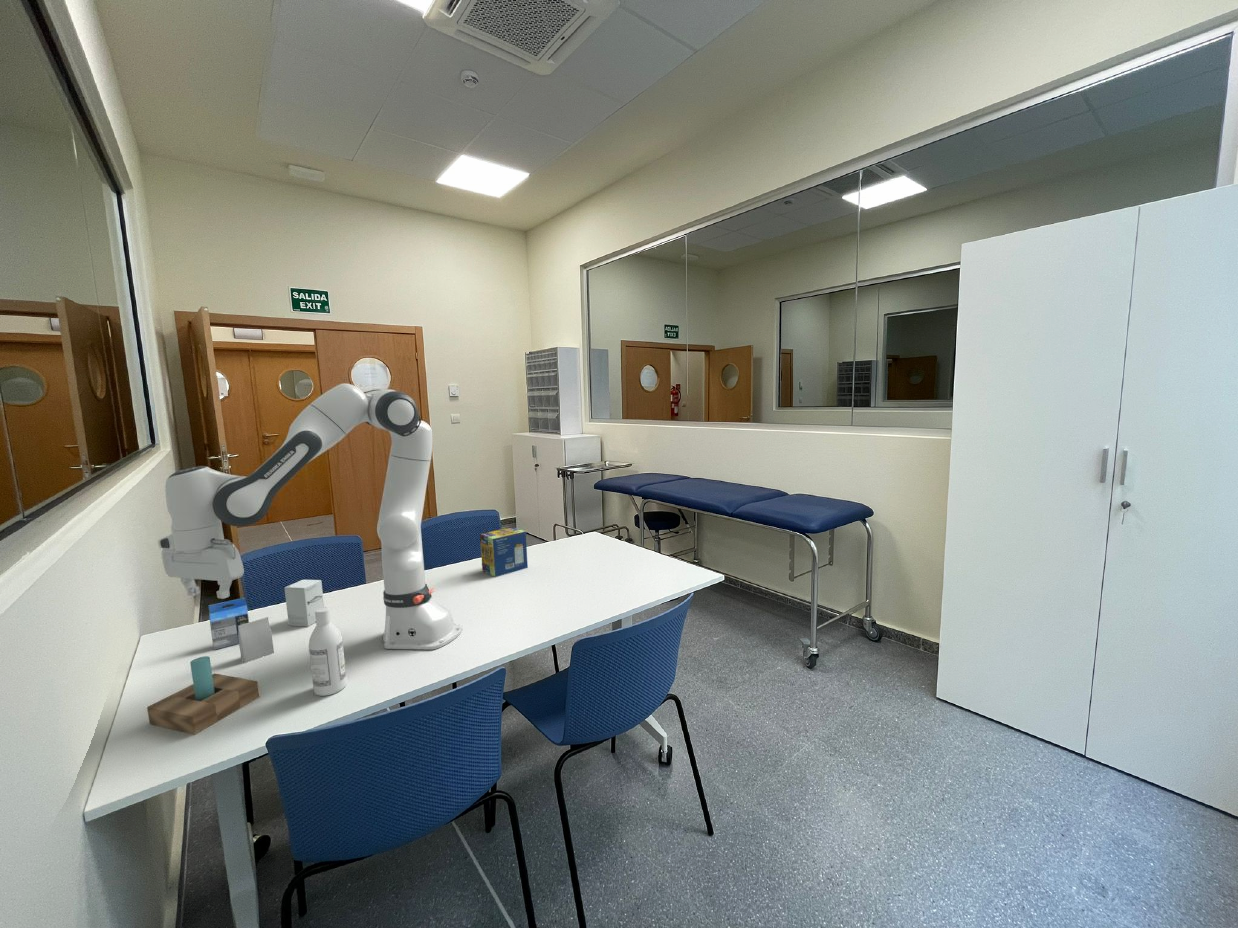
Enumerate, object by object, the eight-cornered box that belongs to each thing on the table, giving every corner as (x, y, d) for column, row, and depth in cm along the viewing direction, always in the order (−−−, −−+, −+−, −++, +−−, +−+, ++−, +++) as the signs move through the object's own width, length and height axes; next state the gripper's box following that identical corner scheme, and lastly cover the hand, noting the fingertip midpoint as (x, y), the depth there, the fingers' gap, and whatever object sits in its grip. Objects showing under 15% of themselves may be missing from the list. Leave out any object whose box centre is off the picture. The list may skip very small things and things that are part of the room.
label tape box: (213, 650, 144) (207, 609, 142) (213, 645, 147) (207, 605, 145) (251, 640, 149) (246, 600, 148) (250, 636, 152) (245, 596, 151)
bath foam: (340, 677, 127) (331, 601, 125) (352, 686, 123) (343, 607, 120) (309, 690, 122) (300, 610, 119) (320, 700, 117) (311, 618, 115)
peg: (220, 706, 116) (213, 657, 115) (204, 715, 113) (197, 664, 112) (209, 704, 117) (202, 655, 116) (193, 713, 114) (186, 662, 113)
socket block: (259, 696, 120) (257, 680, 119) (195, 734, 107) (192, 716, 106) (216, 688, 124) (214, 673, 123) (149, 723, 111) (147, 706, 110)
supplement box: (308, 627, 157) (303, 588, 156) (287, 625, 159) (283, 587, 157) (326, 617, 164) (322, 579, 163) (306, 615, 166) (302, 578, 164)
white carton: (274, 653, 141) (269, 618, 140) (244, 663, 136) (240, 627, 135) (270, 649, 144) (265, 615, 142) (241, 658, 139) (236, 623, 137)
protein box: (481, 571, 204) (479, 533, 202) (515, 562, 214) (512, 526, 212) (494, 577, 196) (492, 538, 194) (528, 567, 207) (526, 530, 205)
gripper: (246, 535, 115) (255, 593, 117) (182, 533, 121) (192, 588, 123) (218, 543, 109) (228, 604, 111) (152, 540, 115) (162, 598, 117)
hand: (208, 596), depth 117 cm, fingers open, 8 cm apart
